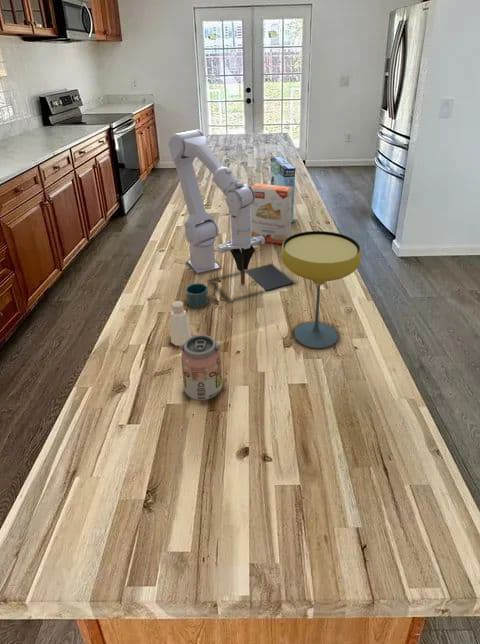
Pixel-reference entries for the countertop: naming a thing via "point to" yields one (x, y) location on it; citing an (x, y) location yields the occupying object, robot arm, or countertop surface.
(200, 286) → the espresso cup
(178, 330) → the pepper shaker
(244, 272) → the stirring stick
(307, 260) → the cocktail glass
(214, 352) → the beverage can
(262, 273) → the mat
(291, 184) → the blue upright flat box
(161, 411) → the countertop surface
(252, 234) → the cracker box
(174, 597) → the countertop surface
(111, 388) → the countertop surface
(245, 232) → the robot arm
